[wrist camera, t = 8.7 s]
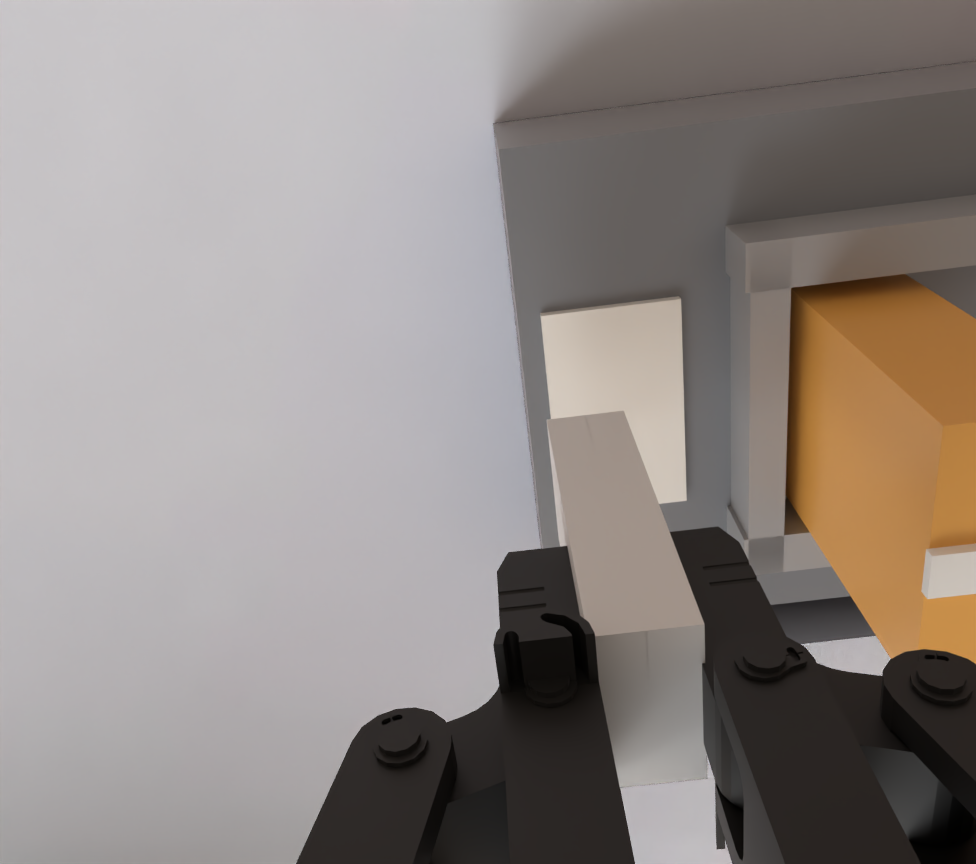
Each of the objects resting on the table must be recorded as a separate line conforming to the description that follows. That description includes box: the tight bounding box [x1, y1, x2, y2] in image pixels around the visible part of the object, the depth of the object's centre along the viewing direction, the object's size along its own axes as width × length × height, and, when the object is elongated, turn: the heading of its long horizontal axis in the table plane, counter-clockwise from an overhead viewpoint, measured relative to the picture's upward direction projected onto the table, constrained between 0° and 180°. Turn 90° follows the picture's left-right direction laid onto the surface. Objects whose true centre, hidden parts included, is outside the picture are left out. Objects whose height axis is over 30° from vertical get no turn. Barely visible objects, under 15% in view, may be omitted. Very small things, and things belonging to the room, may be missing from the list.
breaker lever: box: [785, 274, 976, 664], centre depth 17 cm, size 2×5×7 cm, turn 7°
